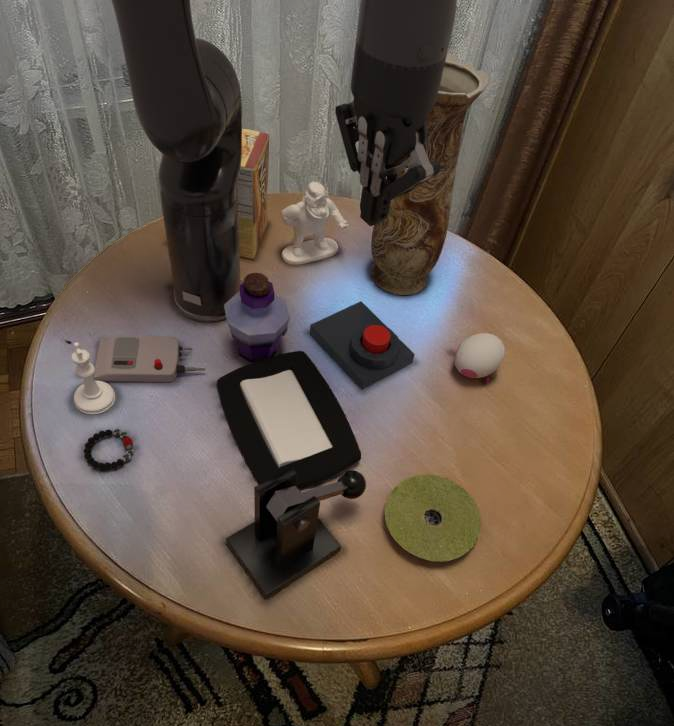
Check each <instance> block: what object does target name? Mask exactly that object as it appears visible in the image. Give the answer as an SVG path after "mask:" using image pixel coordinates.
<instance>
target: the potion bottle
mask: <svg viewBox="0 0 674 726" xmlns="http://www.w3.org/2000/svg"><path fill="white" fill-rule="evenodd" d="M239 287H240V291H239V292H238V293H237V294H235V295H234V296H233V297H232V298H231V299H230V300H229V301H228V302H227V303H225V304H224V308H225V313H226V318H225V319H226V324H227V326H228V329H229V332H230V335H231V338H232V339H233V340H234V341H235V344H236V347H237V353H238V356H239V357H240V358H243V360H245V361H247V362H249V363H252V362H255V361H257V360H260V359H264V358H267V357H271V356H275V355H277V353H278V346H279V344H280V341H281V338H282V337H284V336H286V334H287V333H288V329H289V328H288V327H289V323H290V319H291V316H290V312H289V308H288V304H287V300H286V299H285V298H283V297H281V296H280V295H278V294H276V293H275V289H274V284H273V282H271V281H269V278H268V276H267V275H265V274H263V273H261V272H251V273H249V274H246V275H245V277H244V278H243V282H242V283H240V286H239Z"/></svg>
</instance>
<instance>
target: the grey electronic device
mask: <svg viewBox="0 0 674 726" xmlns="http://www.w3.org/2000/svg"><path fill="white" fill-rule="evenodd" d="M192 350H193V347H183V346H181V345H179V340H178V338H177V337H176V336H173V335H165V336H164V335H120V334H119V335H117V334H116V335H115V334H113V335H108V336H105V337H101V338H100V339H99V342H98V348H97V354H96V360H95V365H94V368H95V371H94V373H93V378H94V380H95V381H103V382H144V383H145V382H147V383H149V382H150V383H151V382H152V383H154V382H155V383H157V382H159V383H161V382H164V383H173V382H174V381H175V380H176V379H177V377H178V374H184V373H185V372H196V371H199V372H201V371H203V372H204V371H205V372H206V368H205V367H195V366H194V367H193V366H188V367H187V366H185V365H182V364H180V358H181V357H183V356H185V357H186V356H188V355H189V354H188V353H183V352H180V351H192Z"/></svg>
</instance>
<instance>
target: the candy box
mask: <svg viewBox="0 0 674 726" xmlns="http://www.w3.org/2000/svg"><path fill="white" fill-rule="evenodd" d="M269 159H270V134H269V133H266V132H262V131H258V130H253V129H248V128H242V157H241V167H240V172H239V177H238V183H237V192H238V193H237V196H238V224H239V253H240V257H242V258H245V259H251V260H254V259H255V257H256V254H257V251H258V249H259V247H260V244H261V241H262V240H263V239H262V238H263V236H264V233H265V230H266V228H267V226H268V198H269V197H268V195H269V194H268V193H269V164H270V163H269V161H270V160H269Z"/></svg>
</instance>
